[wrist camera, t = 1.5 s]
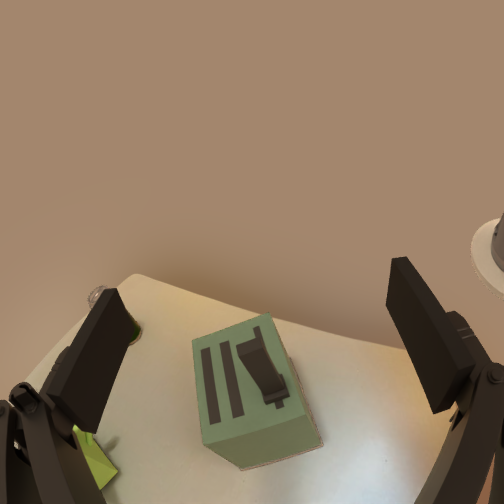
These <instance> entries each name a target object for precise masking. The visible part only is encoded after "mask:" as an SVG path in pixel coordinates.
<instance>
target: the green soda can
mask: <svg viewBox="0 0 504 504" xmlns="http://www.w3.org/2000/svg"><path fill="white" fill-rule="evenodd" d="M104 289H110V288H108V286H107V285H101V286H99V287H97V288H96V289H95V290H93V291H92V293H90V295H89V297H88V300H87V302H88V304H89V306H90V308H91V309H92V308H93V306H94V305H95V303H96V301H97V300H98V298H99V296H100V295H101V293H102V292H103V290H104ZM126 310H127V309H126ZM127 313H128V315H129V317H130V319H131V321H132V323H133V325H134V327H135V331H134V334H133V336H132V339H131V341H130V343H129V345H132V344H134V343H135V342H136V341H137V340H138V339H139V338H140V336H141V328H140V326H139V325H138V323H137V322H136V321H135V320H134V318H133V317H132V316H131V315H130V313H129V312H128V311H127Z"/></svg>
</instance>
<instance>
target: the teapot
mask: <svg viewBox="0 0 504 504" xmlns="http://www.w3.org/2000/svg"><path fill="white" fill-rule="evenodd" d="M73 430H74V432H75V433H76V435H77V438H78V440H79V443H80V446H81V448H82V451H83V453H84V456H85V458H86V461H87V463H88V465H89V468H90V470H91V472H92V474H93V477H94V479H95V481H96V483H97V485H98V487H99V489H100V490H101V489H102V488H103V487H104V486H105V485H106V484H107V483H108V482H109V480H110V479H111V478H112V477H113V476H114V475H115V474H116V473H117V472H118V471H117V470H116V468H115V467H114V466H113V465H112V463H111V462H110V461H109V459H108V458H107V457H106V456H105V454H104V453H103V452H102V450H101V449H100V448H99V446H98V445H97V444H96V442H95V441H94V440H93V438H92V435H93V434H92V433H88V432H83V431H81V430H80V429H79V428H78V427H77V426H76V425H75V424H74V427H73Z"/></svg>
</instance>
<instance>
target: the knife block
mask: <svg viewBox="0 0 504 504" xmlns="http://www.w3.org/2000/svg"><path fill="white" fill-rule="evenodd" d="M257 337H260V338H261V340H262V342H263V344H264V346H265V348H266V350H267V352H268V354H269V356H270V358H271V360H272V362H273V364H274V366H275V367H276V369H277V371H278V373H279V374H282V375H283V377H284V379H285V382H286V385H287V388H288V391H289V394H290V397H288V398H285V399H282V400H279V401H276V402H274V403H271V404H268V405H266V404H265V403H264V401H263V397H262V394H261V390H260V389H259V387H258V386H257V384H256V383H255V381H254V380H253V378H252V377H251V375H250V374H249V372H248V371H247V369H246V368H245V366H244V365H243V363H242V362H241V360H240V359H239V357H238V354H237V350H236V345H237V344H240V343H243V342H246V341H248V340H251V339H254V338H257ZM192 346H193V358H194V369H195V380H196V389H197V399H198V408H199V416H200V424H201V432H202V439H203V445H204V446H206V447H207V448H209V449H210V450H212V451H214V452H215V453H217V454H218V455H220V456H221V457H223V458H225V459H226V460H228V461H230V462H231V463H233V464H235V465H236V466H238V467H240V470H241V471H244V470H248V469H252V468H256V467H260V466H263V465H267V464H271V463H274V462H277V461H281V460H284V459H287V458H290V457H293V456H296V455H299V454H302V453H305V452H308V451H311V450H314V449H316V448H319V447H322V446H323V443H322V440H321V437H320V435H319V432H318V429H317V427H316V424H315V421H314V419H313V416H312V413H311V411H310V408H309V405H308V403H307V400H306V397H305V395H304V392H303V389H302V387H301V384H300V381H299V379H298V376H297V373H296V371H295V368H294V365H293V363H292V360H291V358H290V357H288V354H287V352H286V350H285V347H284V345H283V343H282V341H281V338H280V336H279V334H278V331H277V329H276V327H275V324H274V322H273V320H272V317H271V315H270V313H269V312H268V313H265V314H263V315H260V316H258V317H255V318H252V319H250V320H247V321H244V322H242V323H239V324H236V325H234V326H231V327H228V328H225V329H223V330H220V331H217V332H214V333H212V334H209V335H206V336H203V337H200V338H197V339H194V340H192Z"/></svg>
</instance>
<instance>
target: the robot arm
mask: <svg viewBox="0 0 504 504" xmlns="http://www.w3.org/2000/svg"><path fill="white" fill-rule="evenodd" d="M495 228H496V229H495ZM495 228H494V229H495V231H494V233H493V236H492V241H491V254H492V257H493V260H494V261H495V263H496V265H497V266H498V267H499V268H500V269H501V270H502V271H503V272H504V213H503V215H502V218H501V219H500V221H499V223H498V224H497V225H496V226H495ZM386 307H387V309H388V311H389V313H390V315H391V317H392V319H393V321H394V323H395V326H396V328H397V329H398V332H399V334H400V336H401V338H402V341H403V343H404V345H405V347H406V349H407V352H408V354H409V356H410V358H411V361H412V363H413V365H414V368H415V370H416V372H417V375H418V377H419V379H420V382H421V384H422V387H423V389H424V392H425V394H426V397H427V399H428V402H429V404H430V407H431V410H432V412H433V414H436V413H439V412H442V411H445V410H448V409H450V408H451V406H452V405H453V403H454V402H455V401H456V403H457V405H458V409H457V410H456V412H455V413H454V415H453V416H452V417H451V419H450V421H449V422H452V424H451V426H450V429H449V432H448V434H447V437H446V439H445V442H444V444H443V446H442V449H441V451H440V453H439V456H438V458H437V460H436V462H435V464H434V467H433V469H432V471H431V473H430V475H429V477H428V479H427V481H426V483H425V485H424V487H423V488H422V490H421V492H420V494H419V496H418V498H417V499H416V501H415V503H414V504H476V503H477V500H478V498H479V496H480V493H481V491H482V488H483V485H484V483H485V480H486V477H487V474H488V472H489V469H490V466H491V462H492V459H493V456H494V453H495V460H494V471H493V478H492V485H491V492H490V497H489V503H488V504H504V366H503V365H501V364H499V363H493V362H492V361H491V360H490V358H489V356H488V355H487V353H486V351H485V350H484V348H483V346H482V345H481V343H480V342H479V340H478V338H477V337H476V336H475V335H474V332H473V331H472V329H470V326H469V325H468V323H467V322H466V320H465V319H464V318H463V317H462V316H461V315H460V314H458V313H457V312H456V311H452V312H447V313H446V312H445V311H444V309H443V308H442V306H441V305H440V303H439V302H438V300H437V299H436V297H435V296H434V294H433V293H432V291H431V290H430V288H429V287H428V286H427V284H426V283H425V281H424V280H423V279H422V277H421V276H420V274H419V273H418V272H417V270H416V269H415V268H414V266H413V265H412V264H411V262H410V261H409V259H408V258H407V257H399V258H392V262H391V271H390V278H389V285H388V293H387V299H386ZM134 331H135V327H134V325H133V323H132V321H131V319H130V317H129V315H128V313H127V310H126V308H125V306H124V304H123V302H122V299H121V297H120V295H119V293H118V290H117V288H112V289H104V290H103V292H102V293H101V295H100V296H99V298H98V300H97V301H96V303H95V305H94V306H93V308H92V309H91V311H90V313H89V314H88V316H87V318H86V319H85V321H84V323H83V324H82V326H81V328H80V330H79V331H78V333H77V335H76V336H75V338H74V340H73V342H72V344H71V345H70V347H68V346H67V347H66V348H65V349H64V350H63V351H62V352H61V353H60V354H59V356H58V358H57V360H56V362H55V364H54V365H53V367H52V369H51V370H52V371H50V373H49V375H48V376H47V378H46V380H45V382H44V384H43V386H42V388H41V390H40V392H39V394H38V393H37V392H36V391H35V390H34V388H33V387H32V386H31V385H30V384H29V383H27V382H22V383H19V384H17V385H16V386H15V387H14V388H13V389H12V390H11V393H10V395H9V401H10V402H11V403H12V404H13V405H14V406H15V407H12V406H11V405H10V404H9V403H8V402H7V401H6V400H0V504H107V503H106V501H105V499H104V497H103V495H102V493H101V491H100V489H99V487H98V485H97V483H96V481H95V479H94V477H93V474H92V472H91V470H90V468H89V465H88V463H87V461H86V458H85V456H84V453H83V451H82V448H81V446H80V443H79V440H78V438H77V435H76V433H75V432H74V430H73V427H74V424H75V425H76V426H77V427H78V428H79V429H80V430H81V431H83V432H88V433H92V434H96V432H97V429H98V426H99V423H100V420H101V417H102V414H103V411H104V409H105V406H106V403H107V400H108V397H109V395H110V392H111V389H112V387H113V384H114V381H115V379H116V376H117V373H118V371H119V368H120V366H121V363H122V361H123V358H124V356H125V353H126V351H127V348H128V346H129V343H130V341H131V339H132V336H133V334H134ZM14 441H15V442H16V443H17V444H18V449H16V448H15V447H14Z"/></svg>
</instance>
